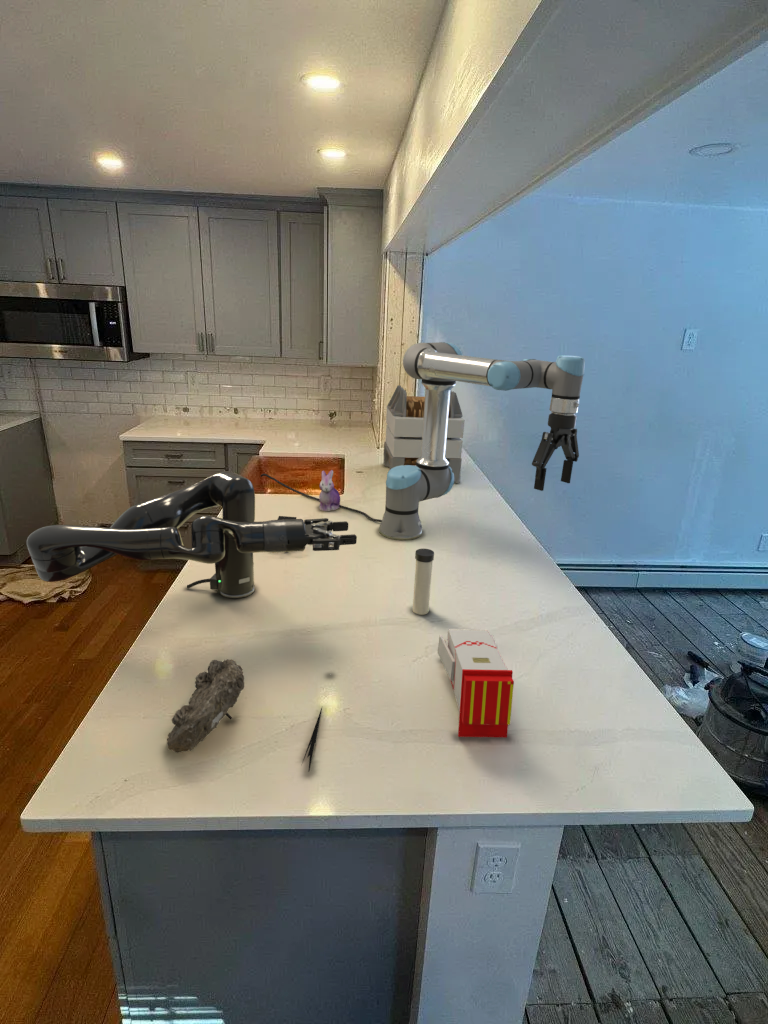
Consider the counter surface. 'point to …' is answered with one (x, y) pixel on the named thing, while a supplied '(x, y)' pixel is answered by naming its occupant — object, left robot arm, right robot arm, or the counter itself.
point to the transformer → (419, 431)
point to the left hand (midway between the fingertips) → (352, 532)
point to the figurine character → (285, 517)
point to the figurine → (328, 493)
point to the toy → (478, 682)
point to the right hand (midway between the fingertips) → (552, 485)
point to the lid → (424, 555)
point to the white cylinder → (422, 587)
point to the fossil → (206, 705)
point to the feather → (313, 740)
